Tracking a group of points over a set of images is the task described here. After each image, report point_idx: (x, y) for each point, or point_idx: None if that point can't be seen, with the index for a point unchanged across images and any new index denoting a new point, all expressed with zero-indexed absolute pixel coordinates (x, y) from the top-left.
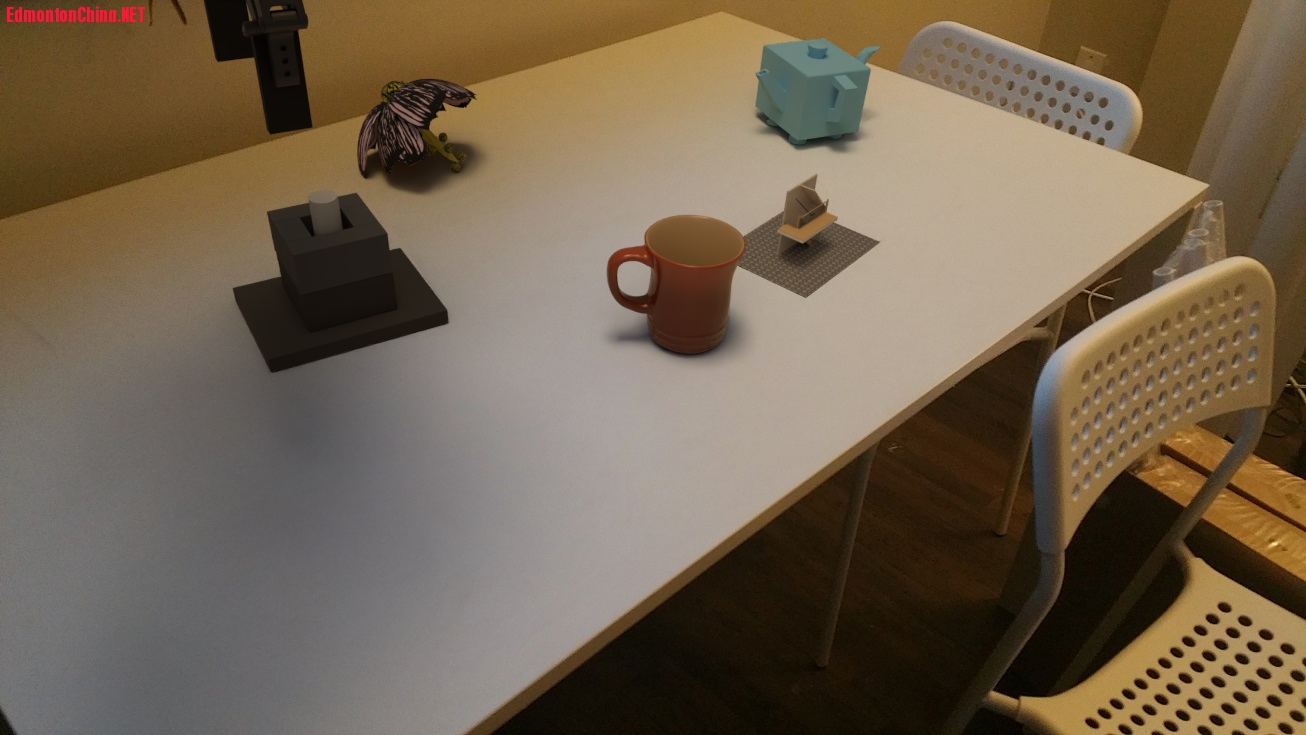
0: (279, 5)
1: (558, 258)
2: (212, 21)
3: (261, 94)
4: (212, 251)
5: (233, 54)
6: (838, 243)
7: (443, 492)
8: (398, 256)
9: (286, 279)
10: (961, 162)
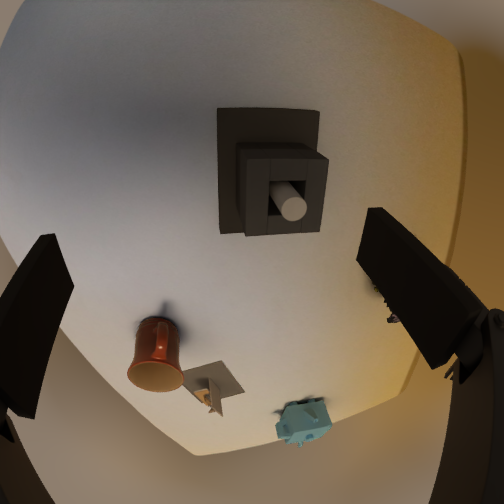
0: None
1: (256, 302)
2: (406, 248)
3: (24, 271)
4: (379, 119)
5: (367, 236)
6: (207, 394)
7: (68, 182)
8: None
9: (288, 146)
10: (243, 431)
